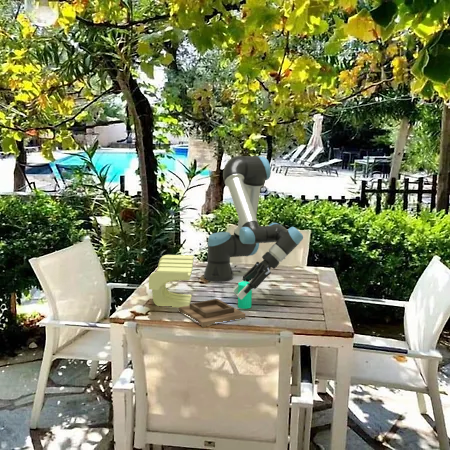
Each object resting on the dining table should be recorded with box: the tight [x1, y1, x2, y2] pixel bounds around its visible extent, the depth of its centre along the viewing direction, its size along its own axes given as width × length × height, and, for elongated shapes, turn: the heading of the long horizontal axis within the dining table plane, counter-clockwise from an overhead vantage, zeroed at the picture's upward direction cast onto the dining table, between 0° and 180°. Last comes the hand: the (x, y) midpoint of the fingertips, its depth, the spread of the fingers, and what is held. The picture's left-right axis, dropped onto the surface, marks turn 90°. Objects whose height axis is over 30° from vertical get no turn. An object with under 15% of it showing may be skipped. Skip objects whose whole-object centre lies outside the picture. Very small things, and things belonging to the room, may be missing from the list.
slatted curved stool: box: [148, 254, 195, 308], centre depth 225 cm, size 30×16×18 cm, turn 179°
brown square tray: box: [178, 298, 246, 328], centre depth 211 cm, size 20×20×4 cm
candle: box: [237, 280, 253, 310], centre depth 222 cm, size 6×6×12 cm
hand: (236, 295), depth 221 cm, fingers closed on candle, 6 cm apart
